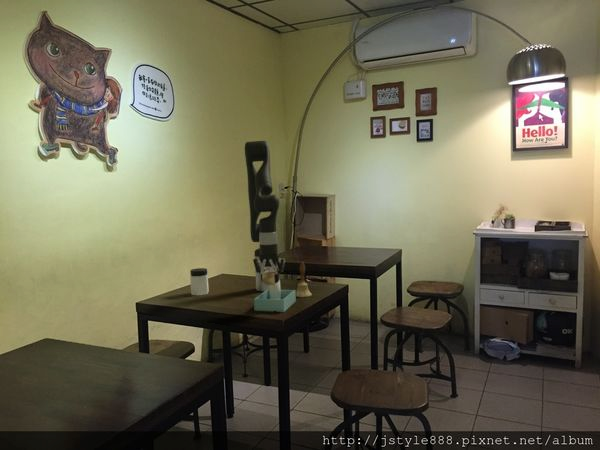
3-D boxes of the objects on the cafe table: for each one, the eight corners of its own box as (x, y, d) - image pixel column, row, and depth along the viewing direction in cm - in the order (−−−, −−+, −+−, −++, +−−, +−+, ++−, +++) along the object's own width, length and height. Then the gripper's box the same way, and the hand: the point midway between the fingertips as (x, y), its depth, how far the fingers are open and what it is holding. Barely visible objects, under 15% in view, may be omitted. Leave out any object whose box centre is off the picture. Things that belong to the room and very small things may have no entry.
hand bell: (303, 292, 229) (301, 259, 228) (315, 294, 223) (314, 261, 222) (290, 295, 223) (289, 262, 222) (303, 298, 217) (301, 264, 216)
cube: (262, 284, 198) (262, 273, 198) (266, 282, 203) (266, 270, 203) (273, 285, 197) (273, 273, 196) (277, 282, 202) (277, 270, 201)
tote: (268, 300, 217) (267, 289, 216) (295, 301, 213) (295, 290, 212) (254, 310, 200) (253, 299, 200) (284, 311, 196) (283, 300, 196)
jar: (207, 295, 230) (205, 271, 229) (190, 296, 230) (188, 271, 229) (209, 291, 239) (208, 267, 238) (193, 291, 239) (192, 268, 238)
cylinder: (274, 299, 214) (272, 278, 212) (283, 300, 211) (282, 279, 209) (267, 302, 209) (266, 281, 208) (277, 304, 207) (275, 282, 205)
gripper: (287, 241, 200) (289, 281, 202) (255, 241, 204) (257, 280, 206) (281, 243, 193) (283, 285, 194) (249, 244, 197) (251, 284, 198)
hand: (270, 282), depth 200 cm, fingers closed on cube, 5 cm apart
